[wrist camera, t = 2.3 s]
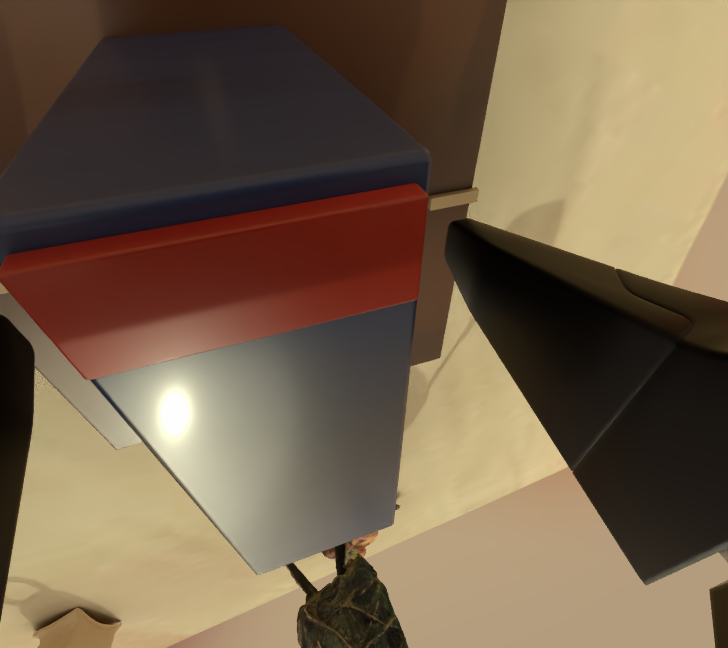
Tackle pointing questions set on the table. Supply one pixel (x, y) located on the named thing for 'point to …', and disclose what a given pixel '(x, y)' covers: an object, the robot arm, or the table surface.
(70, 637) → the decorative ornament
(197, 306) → the blue block
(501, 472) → the table surface
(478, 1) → the brown slab
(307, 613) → the plant with pod
